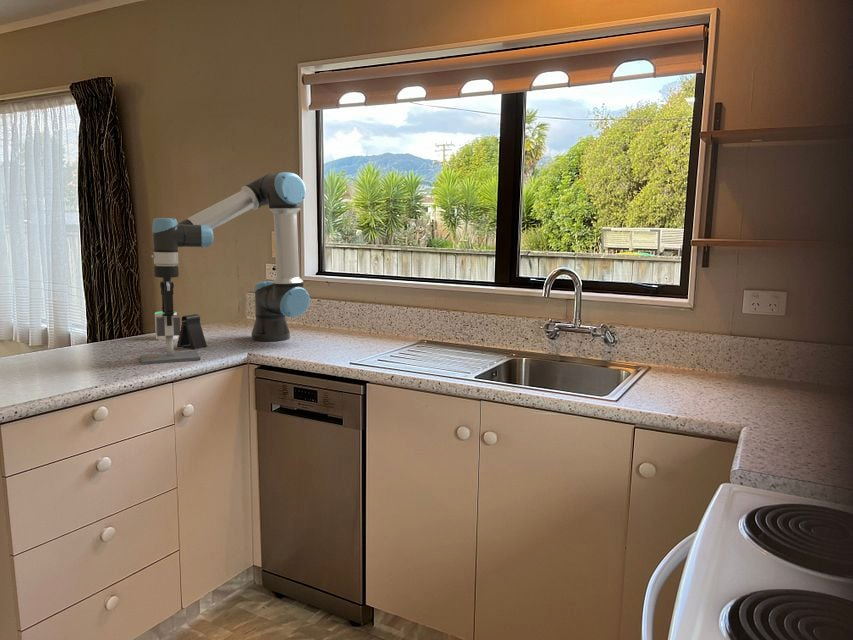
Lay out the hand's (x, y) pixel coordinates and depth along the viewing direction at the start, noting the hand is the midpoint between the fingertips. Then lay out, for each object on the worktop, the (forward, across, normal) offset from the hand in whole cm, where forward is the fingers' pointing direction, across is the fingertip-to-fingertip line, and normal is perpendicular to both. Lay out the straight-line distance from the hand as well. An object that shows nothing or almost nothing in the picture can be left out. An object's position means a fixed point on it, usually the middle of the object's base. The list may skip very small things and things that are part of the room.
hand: (168, 333), depth 212 cm
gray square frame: (0, 0, 0) cm, 0 cm away
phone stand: (+9, -19, +9) cm, 23 cm away
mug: (+9, -43, +3) cm, 44 cm away
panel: (+9, 0, 0) cm, 9 cm away
